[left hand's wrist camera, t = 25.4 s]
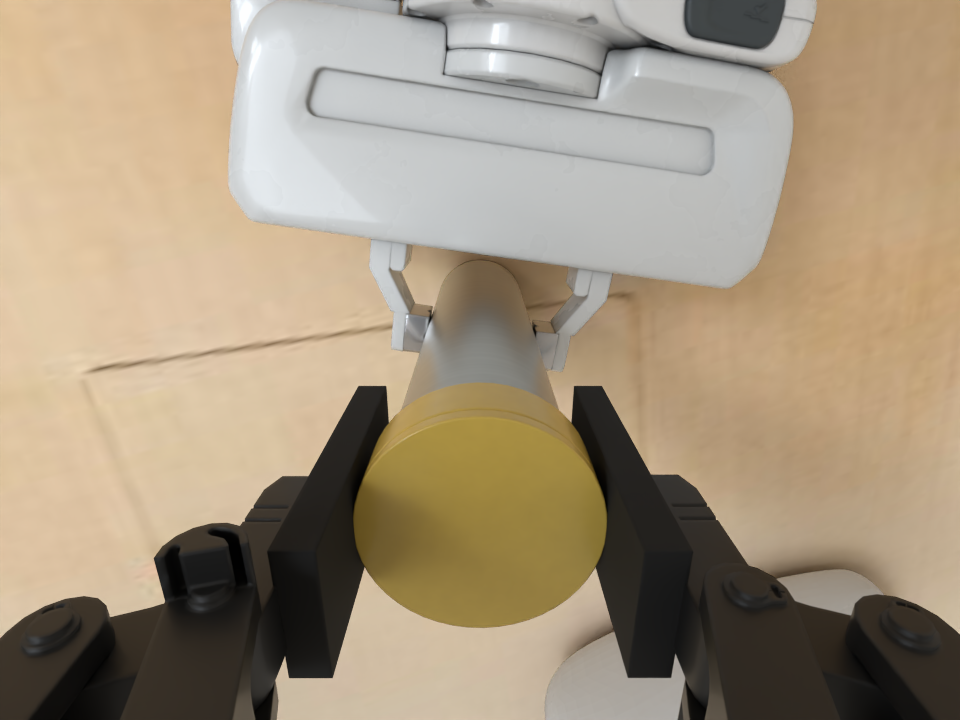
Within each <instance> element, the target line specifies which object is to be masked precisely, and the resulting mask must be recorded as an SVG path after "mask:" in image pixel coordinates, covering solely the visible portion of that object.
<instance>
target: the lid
mask: <svg viewBox="0 0 960 720" xmlns="http://www.w3.org/2000/svg"><path fill="white" fill-rule="evenodd" d="M353 524H354V535H355V543H356V548H357V550H358V553H359V556H360V558H361V561H362V563H363V564H364V566H365V568H366V570H367V572H368V573H369V574H370V576H371V577H372V578H373V580H374V581H375V582H376V584H377V585H378V586H379V587H380V588H381V589H382V590H383V591H384V592H385V593H386V594H387V595H388V596H390V597H391V598H392V599H394V600H395V601H396V602H397V603H399V604H400V605H402V606H404V607H405V608H407V609H409V610H410V611H412V612H414V613H416V614H419V615H421V616H423V617H425V618H428V619H431V620H434V621H437V622H440V623H445V624H449V625H454V626H461V627H472V628H488V627H500V626H506V625H512V624H516V623H519V622H523V621H527V620H530V619H532V618H535V617H537V616H540V615H542V614H544V613H546V612H548V611H550V610H552V609H554V608H555V607H557V606H558V605H560V604H561V603H563V602H564V601H566V600H567V599H568V598H569V597H571V596H572V595H573V594H574V593H575V592H576V591H577V590H578V589H579V588H580V587H581V586H582V585H583V584H584V583H585V581H586V580H587V579H588V578H589V576H590V575H591V573H592V572H593V570H594V569H595V567H596V565H597V563H598V561H599V559H600V557H601V554H602V551H603V548H604V545H605V537H606V528H607V508H606V503H605V498H604V495H603V492H602V489H601V486H600V484H599V481H598V479H597V476H596V473H595V471H594V468H593V465H592V463H591V460H590V457H589V455H588V452H587V449H586V447H585V444H584V442H583V440H582V439H581V437H580V435H579V433H578V432H577V430H576V429H575V427H574V426H573V425H572V423H571V422H570V421H569V420H568V419H567V418H566V417H565V416H564V415H563V414H562V413H561V412H560V411H559V410H558V409H556V408H555V407H554V406H553V405H551V404H550V403H549V402H547V401H545V400H543V399H542V398H540V397H538V396H537V395H534V394H532V393H530V392H527V391H525V390H522V389H519V388H515V387H512V386H508V385H503V384H496V383H481V382H475V383H464V384H457V385H453V386H448V387H444V388H441V389H438V390H436V391H433V392H430V393H428V394H426V395H424V396H422V397H420V398H418V399H417V400H415V401H414V402H412V403H411V404H409V405H408V406H406V407H405V408H404V409H403V410H401V411H400V412H399V413H398V414H397V415H396V416H395V417H394V418H393V419H392V420H391V421H390V423H389V424H388V425H387V426H386V427H385V429H384V431H383V432H382V434H381V435H380V437H379V439H378V441H377V443H376V445H375V448H374V450H373V453H372V455H371V458H370V460H369V463H368V466H367V468H366V471H365V474H364V476H363V479H362V482H361V484H360V487H359V490H358V492H357V496H356V500H355V504H354V510H353Z"/></svg>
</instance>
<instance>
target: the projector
mask: <svg viewBox="0 0 960 720" xmlns="http://www.w3.org/2000/svg"><path fill="white" fill-rule="evenodd" d="M777 580H778V581H779V582H780V583H781V584H783V585H784V586H785V587H786V588H787V589H788V591H789V592H790V594H791V595H792V597H793V599H794V600H795V601H797V602H800V603H803V604H806V605H809V606H813V607H818V608H822V609H826V610H830V611H835V612H839V613H843V614H847V615H851V614H852V611H853V608H854V605H855V603H856V602H857V601H858V600H859V599H860V598H862V597H863V596H868V595H875V594H880V595H884V594H883V593H882V592H881V590H880V589H879V588H878V587H877V586H876V585H875V584H873V583H872V582H871V581H870V580H868V579H867V578H865V577H864V576H862V575H860V574H858V573H856V572H853V571H850V570H844V569H835V570H823V571H816V572H808V573H803V574H797V575H792V576H786V577H781V578H777ZM684 682H685V676H684V674H683V671H682V669H681V666H680V664H679V661H678V659H677V656H676V654H675V659H674V665H673V670H672V676H671V678H628V677H627V674H626V670H625V667H624V663H623V660H622V656H621V653H620V649H619V646H618V642H617V639H616V636H615V632H612V633H609V634H607V635H605V636H603V637H601V638H599V639H597V640H595V641H593V642H591V643H590V644H588V645H586V646H585V647H583V648H581V649H580V650H578V651H577V652H575V653H574V654H573V655H571V656H570V657H569V658H567V659H566V660H565V661H564V662H563V663H562V664H561V665H560V667H559V668H558V669H557V670H556V672H555V674H554V675H553V677H552V679H551V681H550V683H549V686H548V689H547V693H546V699H545V720H677V719H678V714H679V708H680V703H681V698H682V693H683V687H684Z"/></svg>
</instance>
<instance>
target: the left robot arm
mask: <svg viewBox="0 0 960 720" xmlns="http://www.w3.org/2000/svg"><path fill="white" fill-rule="evenodd" d="M388 424H389V420H388V405H387V390H386V386H358V388H357V390H356V392H355V394H354V395H353V397H352V399H351V401H350V403H349V404H348V406H347V408H346V410H345V412H344V413H343V415H342V417H341V419H340V421H339V422H338V424H337V426H336V428H335V430H334V431H333V433H332V435H331V437H330V439H329V440H328V442H327V444H326V446H325V448H324V449H323V451H322V453H321V455H320V457H319V459H318V460H317V462H316V464H315V466H314V468H313V469H312V471H311V473H310V475H309V476H282V477H281V478H280V479H278V480H277V481H276V482H274V483H273V484H272V485H270V486H269V487H267V488H266V489H265V490H264V491H263V493H262V494H261V496H260V497H259V499H258V500H257V502H256V503H255V505H254V508H253V509H251V510H250V512H249V513H248V515H247V516H246V518H245V522H242V524H241V525H240V526H237V525H234V524H230V523H212V524H207V525H204V526H200V527H196V528H193V529H190V530H188V531H186V532H184V533H182V534H180V535H178V536H176V537H174V538H173V539H172V540H170V541H169V542H168V543H166V544H165V545H164V546H162V548H161V549H160V551H159V552H158V553H157V555H156V556H155V557H154V561H155V565H156V568H157V572H158V576H159V579H160V583H161V587H162V591H163V594H164V598H165V603H164V604H161V605H158V606H155V607H151V608H147V609H143V610H139V611H135V612H131V613H126V614H122V615H118V616H114V617H110V616H109V613H108V610H107V606H106V605H105V604H104V603H103V602H102V601H101V600H99V599H98V598H92V597H86V596H82V597H76V598H69V599H64V600H61V601H58V602H56V603H53V604H50V605H47V606H44V607H43V608H41V609H39V610H37V611H35V612H34V613H32V614H30V615H28V616H27V617H25V618H23V619H22V620H21V621H20V622H18V623H17V624H16V625H15V626H13V627H12V628H11V629H10V630H8V631H7V632H6V633H5V634H4V635H3V636H2V637H1V638H0V720H277V710H278V694H277V687H276V682H275V680H276V677H277V675H278V672H279V670H280V667H281V665H282V662H283V660H284V657H286V663H287V669H288V674H289V678H333V675H334V671H335V668H336V664H337V661H338V657H339V654H340V650H341V647H342V644H343V640H344V637H345V633H346V630H347V626H348V623H349V619H350V616H351V612H352V609H353V605H354V602H355V598H356V595H357V592H358V588H359V585H360V581H361V578H362V574H363V571H364V567H365V566H364V564H363V563H362V561H361V558H360V556H359V553H358V550H357V548H356V543H355V535H354V524H353V510H354V504H355V500H356V496H357V492H358V490H359V487H360V484H361V482H362V479H363V476H364V474H365V471H366V468H367V466H368V463H369V460H370V458H371V455H372V453H373V450H374V448H375V445H376V443H377V441H378V439H379V437H380V435H381V434H382V432H383V431H384V429H385V427H386V426H387V425H388ZM572 425H573V426H574V427H575V429H576V430H577V432H578V433H579V435H580V437H581V439H582V440H583V442H584V444H585V447H586V449H587V452H588V455H589V457H590V460H591V463H592V465H593V468H594V471H595V473H596V476H597V479H598V481H599V484H600V486H601V489H602V492H603V495H604V498H605V503H606V508H607V528H606V537H605V545H604V548H603V551H602V554H601V557H600V559H599V561H598V563H597V565H596V570H597V573H598V577H599V580H600V584H601V587H602V590H603V594H604V597H605V601H606V604H607V608H608V611H609V615H610V618H611V622H612V625H613V629H614V632H615V636H616V639H617V642H618V646H619V649H620V653H621V656H622V660H623V663H624V667H625V670H626V674H627V677H628V678H671V676H672V670H673V665H674V659H675V654H676V656H677V659H678V661H679V664H680V666H681V669H682V671H683V674H684V676H685V682H684V687H683V693H682V698H681V703H680V708H679V714H678V719H677V720H960V634H959V633H958V632H957V631H956V630H954V629H953V628H952V627H951V626H949V625H948V624H947V623H946V622H945V621H943V620H942V619H941V618H940V617H938V616H937V615H935V614H933V613H932V612H930V611H928V610H926V609H924V608H922V607H921V606H919V605H917V604H914V603H912V602H909V601H906V600H903V599H900V598H897V597H893V596H886V595H880V594H875V595H868V596H863V597H862V598H860V599H859V600H858V601H857V602H856V603H855V605H854V608H853V611H852V614H851V615H847V614H843V613H839V612H835V611H830V610H826V609H822V608H818V607H813V606H809V605H806V604H803V603H800V602H797V601H795V600H794V599H793V597H792V595H791V594H790V592H789V591H788V589H787V588H786V587H785V586H784V585H783V584H781V583H780V582H779V581H778V580H777V579H776V578H774V577H773V576H771V575H769V574H767V573H765V572H764V571H762V570H760V569H758V568H755V567H751V566H748V564H747V563H746V561H745V560H744V558H743V557H742V555H741V554H740V552H739V551H738V549H737V548H736V546H735V545H734V543H733V542H732V540H731V539H730V538H729V536H728V535H727V533H726V532H725V530H724V529H723V527H722V526H721V524H720V523H719V521H718V520H716V517H715V515H714V514H713V512H712V511H711V509H710V508H709V507H707V503H706V502H705V500H704V499H703V497H702V496H701V494H700V493H699V491H698V490H697V488H695V487H694V486H693V485H691V484H690V483H689V482H687V481H686V480H684V479H683V478H682V477H680V476H679V475H651V474H650V472H649V471H648V469H647V467H646V465H645V463H644V462H643V460H642V458H641V456H640V454H639V452H638V451H637V449H636V447H635V445H634V443H633V442H632V440H631V438H630V436H629V434H628V433H627V431H626V429H625V427H624V425H623V424H622V422H621V420H620V418H619V416H618V415H617V413H616V411H615V409H614V407H613V406H612V404H611V402H610V400H609V398H608V397H607V395H606V393H605V391H604V389H603V388H602V386H574V395H573V410H572Z"/></svg>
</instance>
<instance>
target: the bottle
mask: <svg viewBox="0 0 960 720" xmlns="http://www.w3.org/2000/svg"><path fill="white" fill-rule="evenodd" d="M475 382H481V383H496V384H503V385H508V386H512V387H515V388H519V389H522V390H525V391H527V392H530V393H532V394H534V395H537V396H538V397H540V398H542V399H543V400H545V401H547V402H549V403H550V404H551V405H553V406H554V407H555V408H556V409H558V405H557V402H556V399H555V396H554V393H553V390H552V387H551V384H550V381H549V378H548V375H547V372H546V369H545V366H544V362H543V359H542V356H541V353H540V350H539V347H538V344H537V341H536V338H535V335H534V332H533V329H532V326H531V322H530V319H529V316H528V313H527V310H526V307H525V304H524V301H523V298H522V295H521V292H520V289H519V286H518V284H517V281H516V280H515V278H514V277H513V276H512V274H511V273H510V272H509V271H508V270H507V269H505V268H504V267H502V266H501V265H499V264H497V263H494V262H491V261H487V260H474V261H469V262H466V263H463V264H461V265H459V266H458V267H456V268H455V269H454V270H452V271H451V272H450V273H449V274H448V276H447V277H446V278H445V280H444V282H443V284H442V286H441V289H440V292H439V295H438V298H437V301H436V304H435V308H434V311H433V314H432V317H431V320H430V323H429V326H428V329H427V332H426V335H425V338H424V341H423V345H422V348H421V351H420V354H419V357H418V360H417V363H416V366H415V369H414V372H413V375H412V378H411V382H410V385H409V388H408V391H407V394H406V397H405V400H404V403H403V406H402V409H401V410H403V409H404V408H405V407H406V406H408V405H409V404H411V403H412V402H414V401H415V400H417V399H418V398H420V397H422V396H424V395H426V394H428V393H430V392H433V391H436V390H438V389H441V388H444V387H448V386H453V385H457V384H464V383H475ZM558 410H559V409H558Z"/></svg>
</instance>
